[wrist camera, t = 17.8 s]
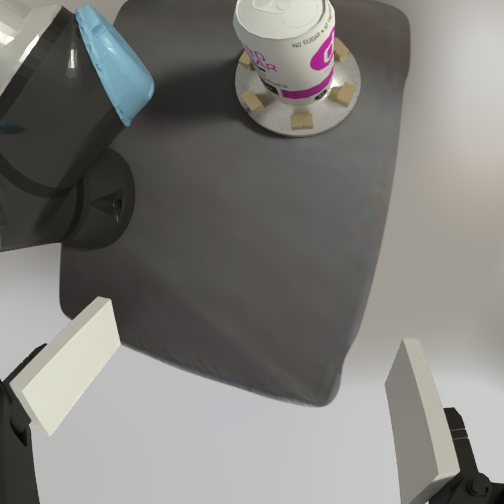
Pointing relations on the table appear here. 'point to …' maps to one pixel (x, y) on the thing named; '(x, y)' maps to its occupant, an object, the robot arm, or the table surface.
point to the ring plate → (307, 116)
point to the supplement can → (289, 46)
